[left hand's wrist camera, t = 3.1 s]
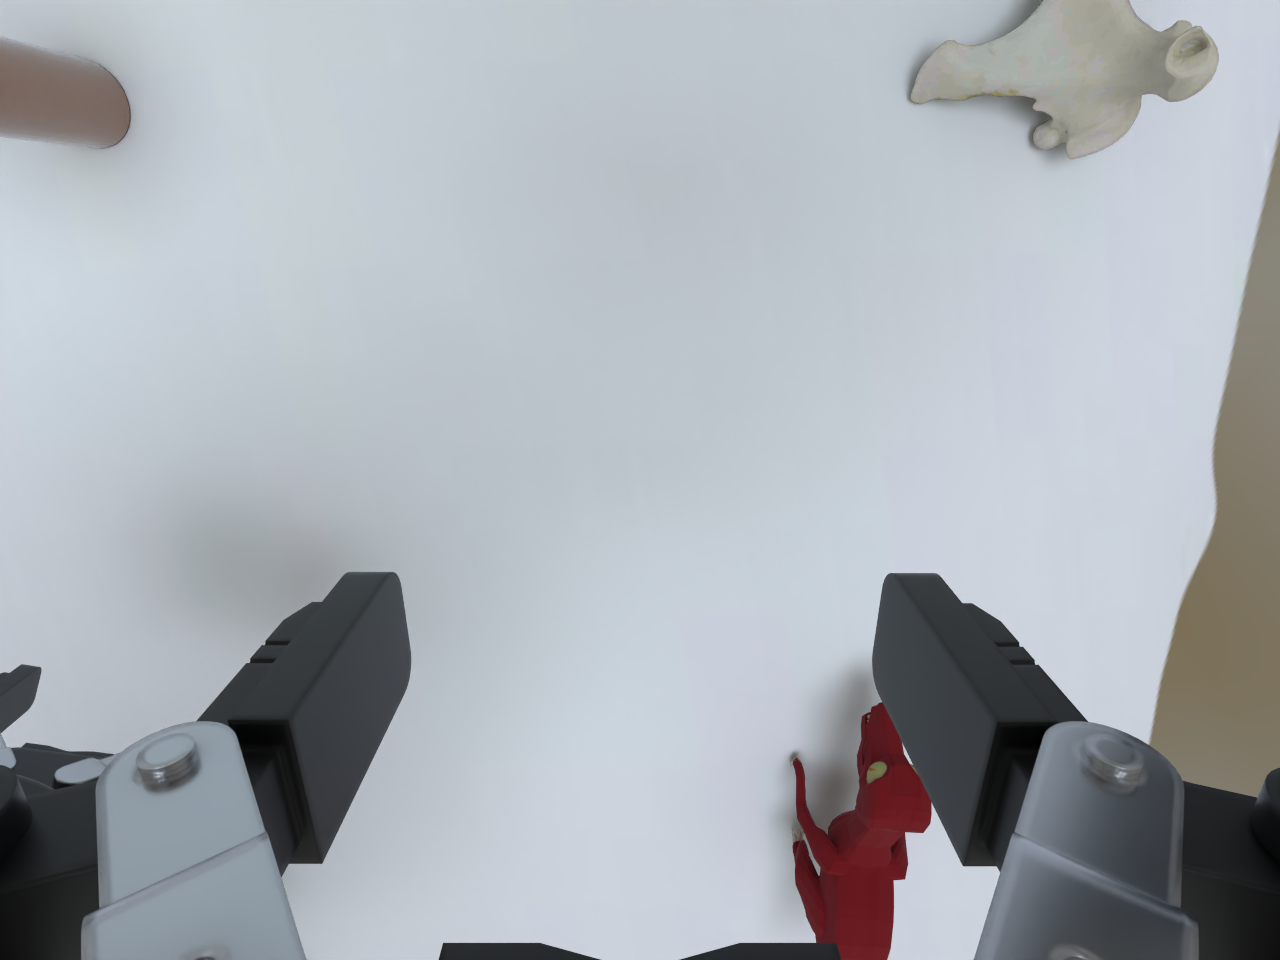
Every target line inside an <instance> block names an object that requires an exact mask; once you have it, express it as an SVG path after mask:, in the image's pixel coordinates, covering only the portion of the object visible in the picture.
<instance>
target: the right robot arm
mask: <svg viewBox="0 0 1280 960" xmlns="http://www.w3.org/2000/svg"><path fill="white" fill-rule="evenodd" d="M40 675H41V667H36V666H29V665H20V666H19V667H17V668H16V669H15V670H13V671H12V672H10V673H5V672H4V673H1V674H0V765H4V766H6V767H9V768H11V769H12V770H13V771H14V772H15V773H16V775H17V778H18V780H19V782H20V785H21V787H22V789H23V792H24V794H25V796H28V795H32V794H37V793H41V792H46V791H50V790H55V789H59V788H64V787H68V786H73V785H78V784H82V783H87V782H91V781H96V780H98V779H99V776H100V775H101V773H102V772H103V770H104V769H105V768H106V766H107V765H108V764H109V763H110V762H111V761H112V760H113V759H114V758H115V757H116V756H117V755H119V754H120V753H118V754H115V755H114V754H107V753H100V752H69V751H64V750H61V749H58V748H54V747H51V746H46V745H38V744H31V743H26V744H24V745H23V746H22V747H20V748H10V747H8V748H7V747H6V744H5V742H4V740H3V737H2V735H1V733H2V732H3V731H4V730H5V729H6V728H7V727H9V726H10V725H11V724H12V723H13V722H15V721H16V720H17V719H18V718H19V717H20V716H22V715H23V714H24V713H25V712H26V711H27V710H28V709H29V708H30V707H31V705H32V704H33V702H34V699H35V696H36V692H37V688H38V684H39V679H40Z"/></svg>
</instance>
